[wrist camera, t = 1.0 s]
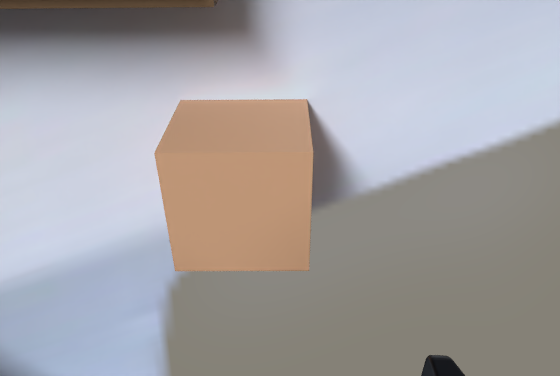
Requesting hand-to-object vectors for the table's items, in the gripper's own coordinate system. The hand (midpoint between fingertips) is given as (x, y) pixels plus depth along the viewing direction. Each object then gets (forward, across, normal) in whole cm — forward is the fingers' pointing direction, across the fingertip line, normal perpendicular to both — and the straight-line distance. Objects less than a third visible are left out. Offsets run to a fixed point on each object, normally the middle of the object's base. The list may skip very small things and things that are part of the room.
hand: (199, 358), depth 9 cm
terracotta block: (+11, 0, +2) cm, 11 cm away
